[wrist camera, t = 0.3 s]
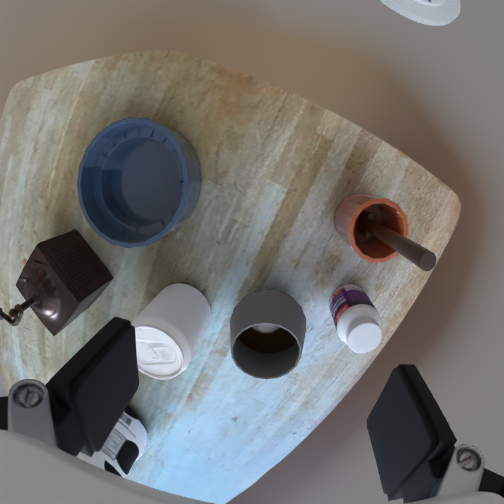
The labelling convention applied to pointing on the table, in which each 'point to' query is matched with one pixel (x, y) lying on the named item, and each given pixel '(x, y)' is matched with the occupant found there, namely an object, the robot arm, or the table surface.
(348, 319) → the pill bottle
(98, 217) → the bowl
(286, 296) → the cup
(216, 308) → the table surface
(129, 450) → the milk container
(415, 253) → the stirring stick
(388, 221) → the utensil pot
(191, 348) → the beverage can
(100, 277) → the manual coffee grinder
